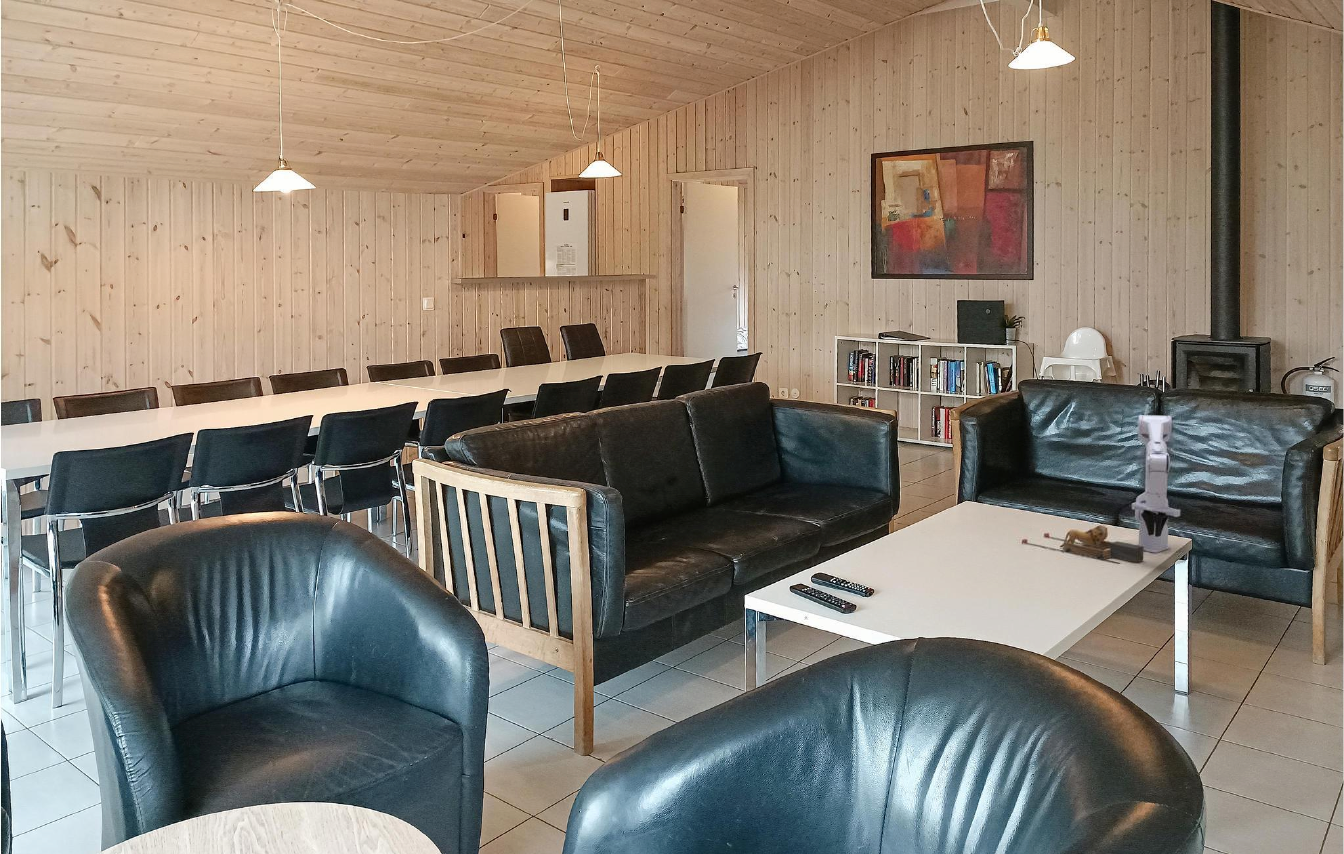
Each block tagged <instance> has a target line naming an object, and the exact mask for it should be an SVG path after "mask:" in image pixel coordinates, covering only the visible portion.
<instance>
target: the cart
mask: <svg viewBox="0 0 1344 854" xmlns="http://www.w3.org/2000/svg"><path fill="white" fill-rule="evenodd" d="M1063 543H1064V544H1063ZM1063 543H1062V544H1063V547H1062V548H1063V551H1067V552H1073V553H1077V554H1082V555H1086V556H1091V557H1096V558H1098V559H1105V560H1107V559H1109V558H1113V559H1114V558H1115V559H1119V560H1123V561H1128V562H1133V563H1139V562H1141V561H1144V551H1143V550H1144V546H1139V545H1138V544H1133V543H1128V542H1124V541H1117V540H1116V541H1108V540H1103V541H1102V542H1101V543H1100V544H1095V546H1094V548H1091V547H1090V543H1082V542H1081V543H1082V545H1081V544H1076V543H1074V544H1072V543H1071V542H1070V543H1067V542H1064V541H1063ZM1095 547H1096V548H1095ZM1100 548H1101V549H1100ZM1098 559H1097V560H1098Z"/></svg>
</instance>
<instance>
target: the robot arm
mask: <svg viewBox="0 0 1344 854" xmlns="http://www.w3.org/2000/svg"><path fill="white" fill-rule="evenodd" d="M1172 419H1173V418H1172V416H1171V415H1147V414H1144V415H1143V414H1140V415H1139V416H1138V421H1137V432H1138V433H1137V434H1138V435H1137V437H1138V440H1139V441H1140V442H1142V443H1144V446H1145V486H1144V487H1145V488H1144V489H1145V490H1144V492H1143V493H1141V494H1139V495H1138V496H1137V497H1136V499H1135V502H1133V503H1131V510H1134V518H1135V520H1136V521H1137V522H1139V524H1138V525H1139V526H1138V542H1137V543H1138V544H1137V545H1139V546H1144V550H1145V552H1149V553H1154V554H1157V553H1159V552H1163V551H1165V550H1166V551H1167V550H1169V549H1171V546H1168V544H1169V541H1168V540H1169V527H1168V525H1167V523H1168V521H1169V518H1170V516H1172V517H1174V518H1178V517H1180V516H1181V509H1177V508H1173V507H1170V506H1169V500H1168V498H1167V493H1168V492H1167V490H1168V488H1167V487H1168V473H1169V472H1170V467H1171V465H1170V464H1171V460H1170V459H1171V458H1170V454H1169V453H1168V447H1167V446H1168V445H1167V444H1166V443H1167V442H1169V440H1170V439H1171V433H1172V425H1173V423H1172V421H1173V420H1172Z"/></svg>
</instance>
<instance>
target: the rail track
mask: <svg viewBox="0 0 1344 854" xmlns="http://www.w3.org/2000/svg"><path fill="white" fill-rule="evenodd" d="M1043 537H1044V538H1048V539H1053V540H1057V541H1063V542H1064V541H1065V538H1064V539H1063V538H1057V537H1053V536H1050V533H1049V532H1046V533H1045V532H1044V533H1043ZM1067 540H1068V539H1067ZM1067 540H1066V541H1067ZM1023 543H1024V544H1025V545H1030V546H1033V547H1038V546H1039V548H1043V549H1047V548H1049V549H1048V550H1053V551H1056V550H1057V551H1058V552H1062V553H1066V554H1070V555H1075V556H1080V557H1084V558H1089V559H1094V560H1099V561H1102V562H1107V563H1113V564H1117V565H1119V564H1121V562H1118V561H1113V560H1110V559H1108V560H1107V559H1101V558H1100V559H1098V558H1096V557H1092V556H1087V555H1082V554H1078V553H1073V552H1067V551H1064V550H1062V549H1059V548H1053V547H1049V546H1044V545H1043V546H1042V545H1040V544H1035V543H1030V542H1028V539H1026V538H1024V539H1022V540H1021V544H1023ZM1024 544H1023V545H1024ZM1074 544H1077V545H1081V546H1083V545H1082V542H1079V541H1078V542H1077V541H1075V542H1074ZM1094 548H1096V547H1094ZM1096 549H1097V548H1096ZM1099 549H1100V550H1102V549H1101V548H1099Z"/></svg>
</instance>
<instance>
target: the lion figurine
mask: <svg viewBox="0 0 1344 854" xmlns="http://www.w3.org/2000/svg"><path fill="white" fill-rule="evenodd" d="M1108 534H1109V533H1108V527H1107V526H1105V525H1103V524H1099V525H1096V526H1095V527H1094V528H1090V529H1089V530H1087V531H1080V530H1078V529H1070V530H1069V531H1068V532H1067V533H1066V535H1065V538H1064V540H1065V541H1063V543H1062V544H1061V545H1060V546H1059V548H1063V544H1064V542H1067V543H1072V544H1075V543H1074V542H1076V540H1077V541H1078V542H1079V543H1090V546H1089V547H1091V548H1095V547H1094V546H1095V544H1100V543H1101V542H1102V541H1103V540H1104V541H1106V539H1107V538H1108ZM1066 540H1067V541H1066Z"/></svg>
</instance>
